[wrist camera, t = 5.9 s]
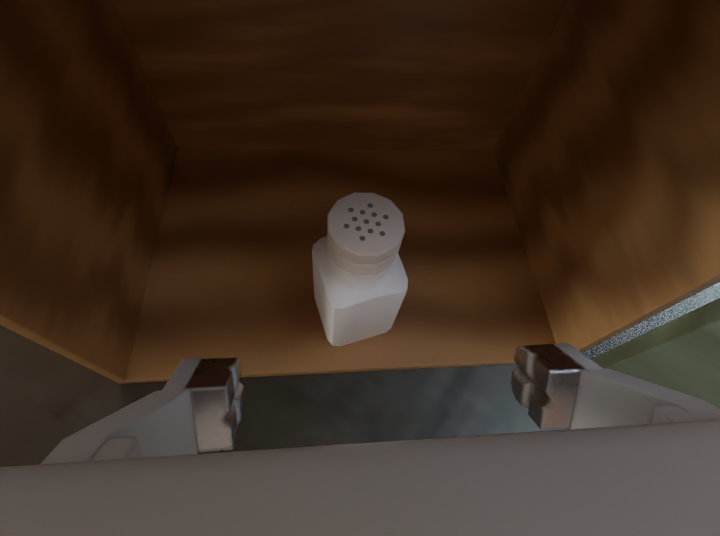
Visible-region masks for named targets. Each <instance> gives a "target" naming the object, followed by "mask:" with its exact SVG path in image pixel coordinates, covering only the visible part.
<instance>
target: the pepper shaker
mask: <svg viewBox="0 0 720 536" xmlns="http://www.w3.org/2000/svg"><path fill="white" fill-rule="evenodd" d="M404 233H405V227H404V220H403V214H402V213H401V211H400V210H399V209H398V208H397V207H396V206H395V204H394V203H393V202H392V201H391V200H389V199H387V198H385V197H382V196H380V195H378V194H375V193H352V194H350V195H348V196H346V197H343V198H341V199H339V200H337V202H336V203H335V204H334V206H333V207H332V209H331V210H330V212H329V213H328V217H327V236H326V237H323V238H321V239H319V240H318V241H317V242H316V243H315V244H314V245H313V248H312V265H313V283H314V298H315V301H316V305H317V308H318V311H319V314H320V318H321V321H322V324H323V327H324V331H325V334H326V337H327V340H328V341H329V342H330V343H331V345H332V346H344V345H347V344H350V343H353V342H357V341H360V340H363V339H367V338H370V337H373V336H377V335H380V334H383V333H386V332H387V331H388V330H390V329H391V328H392V325H393V323H394V321H395V318H396V316H397V313H398V311H399V309H400V306H401V304H402V302H403V299H404V297H405V294H406V292H407V288H408V278H407V275H406V272H405V270H404V267H403V264H402V262H401V259H400V257H399V254H398V252H399V249H400V246H401V242H402V239H403V236H404Z"/></svg>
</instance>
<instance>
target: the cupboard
mask: <svg viewBox="0 0 720 536" xmlns="http://www.w3.org/2000/svg"><path fill="white" fill-rule="evenodd" d="M352 193H375V194H378V195H380V196H382V197H385V198H387V199H389V200H391V201H392V202H393V203H394V204H395V206H396V207H397V208H398V209H399V210H400V211H401V213H402V214H403V220H404V227H405V233H404V236H403V239H402V242H401V246H400V249H399V252H398V254H399V257H400V259H401V262H402V264H403V267H404V270H405V272H406V275H407V278H408V288H407V292H406V294H405V297H404V299H403V302H402V304H401V306H400V309H399V311H398V313H397V316H396V318H395V321H394V323H393V325H392V328H391V329H390V330H388V331H387V332H386V333H383V334H380V335H377V336H373V337H370V338H367V339H363V340H360V341H357V342H353V343H350V344H347V345H344V346H332V345H331V343H330V342H329V341H328V340H327V337H326V334H325V331H324V327H323V324H322V321H321V318H320V314H319V311H318V308H317V305H316V301H315V298H314V283H313V265H312V248H313V245H314V244H315V243H316V242H317V241H318V240H319V239H321V238H323V237H326V236H327V217H328V213H329V212H330V210H331V209H332V207H333V206H334V204H335V203H336V202H337V200H339V199H341V198H343V197H346V196H348V195H350V194H352ZM718 282H720V0H0V325H2V326H4V327H6V328H8V329H10V330H12V331H14V332H16V333H18V334H20V335H22V336H24V337H26V338H28V339H30V340H32V341H34V342H36V343H38V344H40V345H42V346H44V347H46V348H48V349H50V350H52V351H54V352H56V353H58V354H60V355H63V356H65V357H67V358H69V359H71V360H73V361H75V362H77V363H79V364H81V365H83V366H85V367H87V368H89V369H91V370H93V371H95V372H97V373H99V374H101V375H103V376H105V377H107V378H109V379H111V380H113V381H115V382H117V383H119V384H122V383H142V382H163V381H168V380H169V379H170V377H171V376H172V374H173V373H174V371H175V370H176V369H177V367H178V366H179V364H180V363H181V361H182V360H183V359H194V358H203V359H204V358H237V357H240V359H241V362H242V371H243V372H242V375H241V378H244V377H264V376H284V375H304V374H324V373H345V372H365V371H385V370H405V369H426V368H446V367H466V366H486V365H507V364H516V362H515V361H514V355H515V351H516V349H517V347H519V346H525V345H540V344H558V343H568V344H571V345H572V346H573V347H575V348H576V349H577V350H579V351H580V352H584V351H586V350H588V349H590V348H592V347H594V346H596V345H598V344H599V343H601V342H603V341H605V340H607V339H609V338H611V337H613V336H615V335H617V334H619V333H621V332H623V331H625V330H627V329H629V328H631V327H632V326H634V325H636V324H638V323H640V322H642V321H644V320H646V319H648V318H650V317H652V316H654V315H656V314H658V313H660V312H662V311H664V310H666V309H667V308H669V307H671V306H673V305H675V304H677V303H679V302H681V301H683V300H685V299H687V298H689V297H691V296H693V295H695V294H697V293H699V292H700V291H702V290H704V289H706V288H708V287H710V286H712V285H714V284H716V283H718Z"/></svg>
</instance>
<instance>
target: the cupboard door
mask: <svg viewBox="0 0 720 536" xmlns="http://www.w3.org/2000/svg"><path fill="white" fill-rule="evenodd" d="M591 360H593V361H594V362H595V363H597V364H598V365H599V366H601V367H602V368H603V369H607V368H609V369H612V370H615V371H618V372H621V373H624V374H627V375H630V376H633V377H636V378H639V379H642V380H645V381H648V382H651V383H654V384H657V385H660V386H663V387H666V388H669V389H672V390H675V391H678V392H681V393H684V394H687V395H691V396H694V397H697V398H700V399H703V400H706V401H708V402H709V403H711V404H713V405H714V406H716V407H717V408H719V409H720V298H719V299H717V300H715V301H713V302H710V303H708V304H706V305H704V306H702V307H700V308H698V309H696V310H694V311H691V312H689V313H687V314H685V315H683V316H681V317H679V318H677V319H674V320H672V321H670V322H668V323H666V324H664V325H662V326H660V327H658V328H655V329H653V330H651V331H649V332H647V333H645V334H643V335H641V336H639V337H636V338H634V339H632V340H630V341H628V342H626V343H624V344H622V345H620V346H617V347H615V348H613V349H611V350H609V351H607V352H605V353H603V354H601V355H598V356H596V357H594V358H592V359H591Z"/></svg>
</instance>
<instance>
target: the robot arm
mask: <svg viewBox="0 0 720 536" xmlns="http://www.w3.org/2000/svg"><path fill="white" fill-rule="evenodd" d="M514 361H515V362H516V364H517V365H518V366H517V368H516V369H515V370H514V371H513V372H512V379H511V385H512V390H513V394H514V396H515V398H516V400H517V401H518V402H519V403H520V404H521V405H523V406H525V407H527V408H528V409H529V412H528V414H529V416H530V417H531V418H532V419H533V420H534V422H535V423H536V424H537V425H538V426H539V428H540V429H567V428H570V429H567V430H552V431H537V432H522V433H507V434H492V435H477V436H462V437H447V438H431V439H416V440H401V441H386V442H370V443H355V444H340V445H325V446H310V447H295V448H279V449H264V450H249V451H234V452H219V453H204V454H198V453H202V452H213V451H224V450H233V446H234V443H235V440H236V436H237V433H238V427H237V423H239V422H240V421H241V419H242V415H243V410H244V386H243V385H242V384H241V383H240V378H241V375H242V372H243V371H242V362H241V359H240V357H237V358H204V359H203V358H194V359H183V360H182V361H181V363H180V364H179V366H178V367H177V369H176V370H175V371H174V373H173V374H172V376H171V377H170V379H169V380H168V382H167V383H166V385H165V386H164V388H163V389H162V390H160V391H154V392H152V393H150V394H149V395H147V396H145V397H143V398H141V399H139V400H137V401H135V402H133V403H131V404H129V405H127V406H126V407H124V408H122V409H120V410H118V411H116V412H114V413H112V414H110V415H108V416H106V417H104V418H102V419H101V420H99V421H97V422H95V423H93V424H91V425H89V426H87V427H85V428H83V429H81V430H79V431H78V432H76V433H74V434H72V435H70V436H68V437H66V438H64V439H62V440H61V442H60V443H59V444H58V445H57V446H56V447H55V448H54V449H53V450H52V451H51V453H50V454H49V455H48V456H47V457H46V458H45V459H44V460H43V461H42V462H41V464H39V465H24V466H9V467H0V536H720V409H719V408H717V407H716V406H714V405H713V404H711V403H709V402H708V401H706V400H703V399H700V398H697V397H694V396H691V395H687V394H684V393H681V392H678V391H675V390H672V389H669V388H666V387H663V386H660V385H657V384H654V383H651V382H648V381H645V380H642V379H639V378H636V377H633V376H630V375H627V374H624V373H621V372H618V371H615V370H612V369H609V368H607V369H603V368H602V367H601V366H599V365H598V364H597V363H595V362H594V361H593V360H591V359H590V358H588V357H587V356H586V355H584V354H583V353H582V352H580V351H579V350H577V349H576V348H575V347H573V346H572V345H571V344H568V343H558V344H540V345H525V346H519V347H517V349H516V351H515V355H514Z"/></svg>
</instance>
